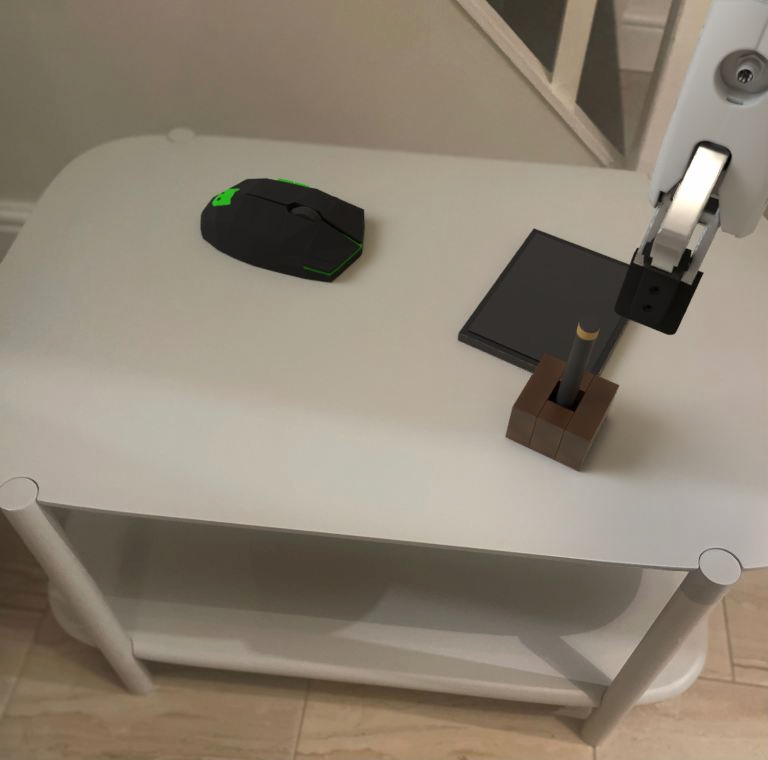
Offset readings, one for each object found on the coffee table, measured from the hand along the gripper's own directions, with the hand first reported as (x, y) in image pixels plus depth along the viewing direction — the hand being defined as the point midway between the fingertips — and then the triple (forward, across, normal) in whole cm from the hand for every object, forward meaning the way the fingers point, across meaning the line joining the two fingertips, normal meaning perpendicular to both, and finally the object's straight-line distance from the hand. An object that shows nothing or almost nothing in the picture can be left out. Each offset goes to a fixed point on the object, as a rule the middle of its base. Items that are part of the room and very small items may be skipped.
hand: (674, 264), depth 42 cm
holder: (+22, +4, +4) cm, 23 cm away
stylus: (+22, +4, +4) cm, 23 cm away
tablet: (+22, +16, +9) cm, 29 cm away
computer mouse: (+23, +12, +36) cm, 44 cm away
